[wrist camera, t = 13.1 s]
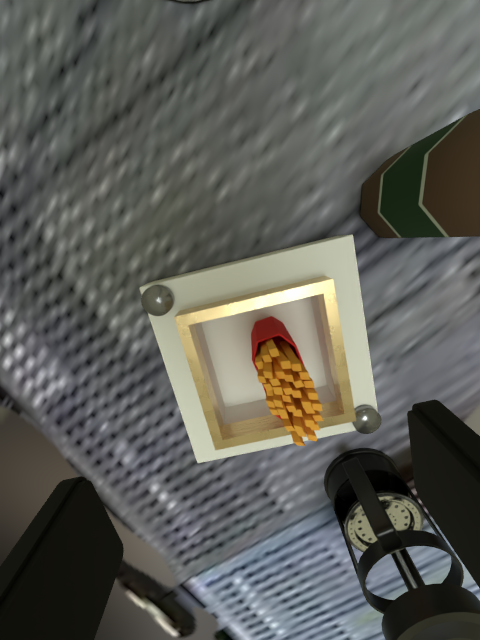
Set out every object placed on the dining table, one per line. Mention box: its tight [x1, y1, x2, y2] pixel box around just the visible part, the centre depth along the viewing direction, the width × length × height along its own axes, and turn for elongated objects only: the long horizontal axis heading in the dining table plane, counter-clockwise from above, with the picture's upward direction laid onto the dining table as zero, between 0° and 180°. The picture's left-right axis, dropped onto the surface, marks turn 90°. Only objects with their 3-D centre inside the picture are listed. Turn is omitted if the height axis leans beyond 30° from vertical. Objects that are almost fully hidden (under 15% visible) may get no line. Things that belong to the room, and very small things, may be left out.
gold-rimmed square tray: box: [139, 235, 381, 463], centre depth 31 cm, size 20×20×6 cm
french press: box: [324, 448, 480, 640], centre depth 27 cm, size 12×9×23 cm
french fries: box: [251, 316, 323, 446], centre depth 27 cm, size 8×4×12 cm, turn 21°
